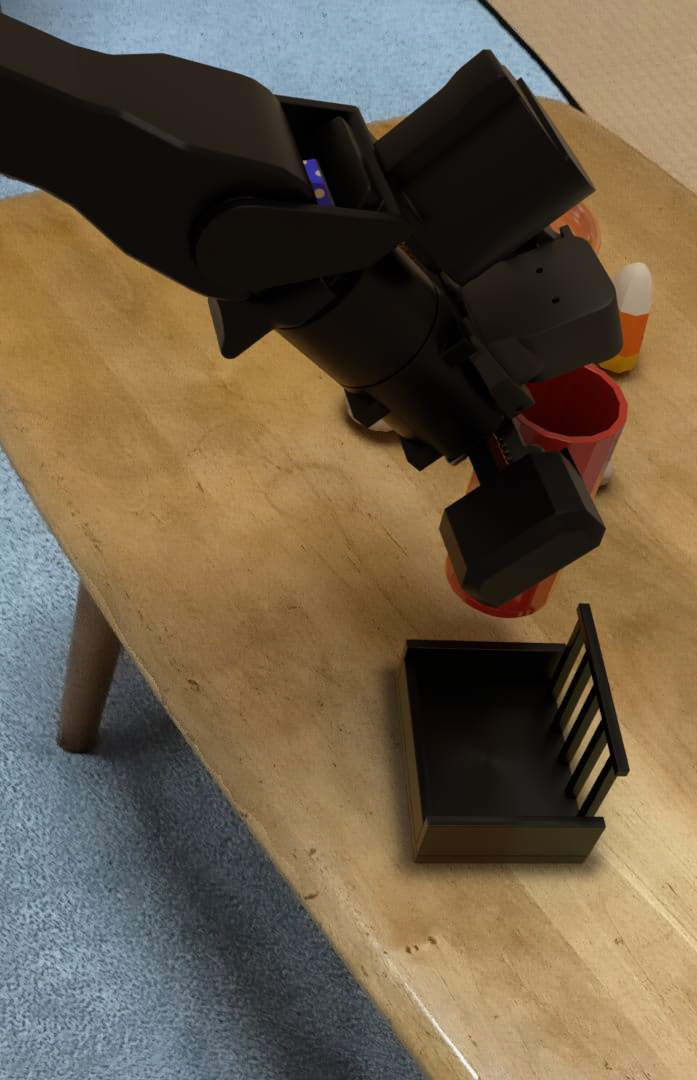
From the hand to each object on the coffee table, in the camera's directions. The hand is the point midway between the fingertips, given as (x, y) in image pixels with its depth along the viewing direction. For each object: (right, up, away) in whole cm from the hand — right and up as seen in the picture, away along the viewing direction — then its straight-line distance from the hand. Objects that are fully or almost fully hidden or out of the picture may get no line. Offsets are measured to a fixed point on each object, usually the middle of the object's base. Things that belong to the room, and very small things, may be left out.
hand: (554, 489), depth 62 cm
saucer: (+1, +20, +35) cm, 40 cm away
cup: (-2, -4, +5) cm, 7 cm away
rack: (-3, -15, +3) cm, 15 cm away
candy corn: (+9, +11, +28) cm, 31 cm away
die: (-13, +22, +34) cm, 43 cm away
